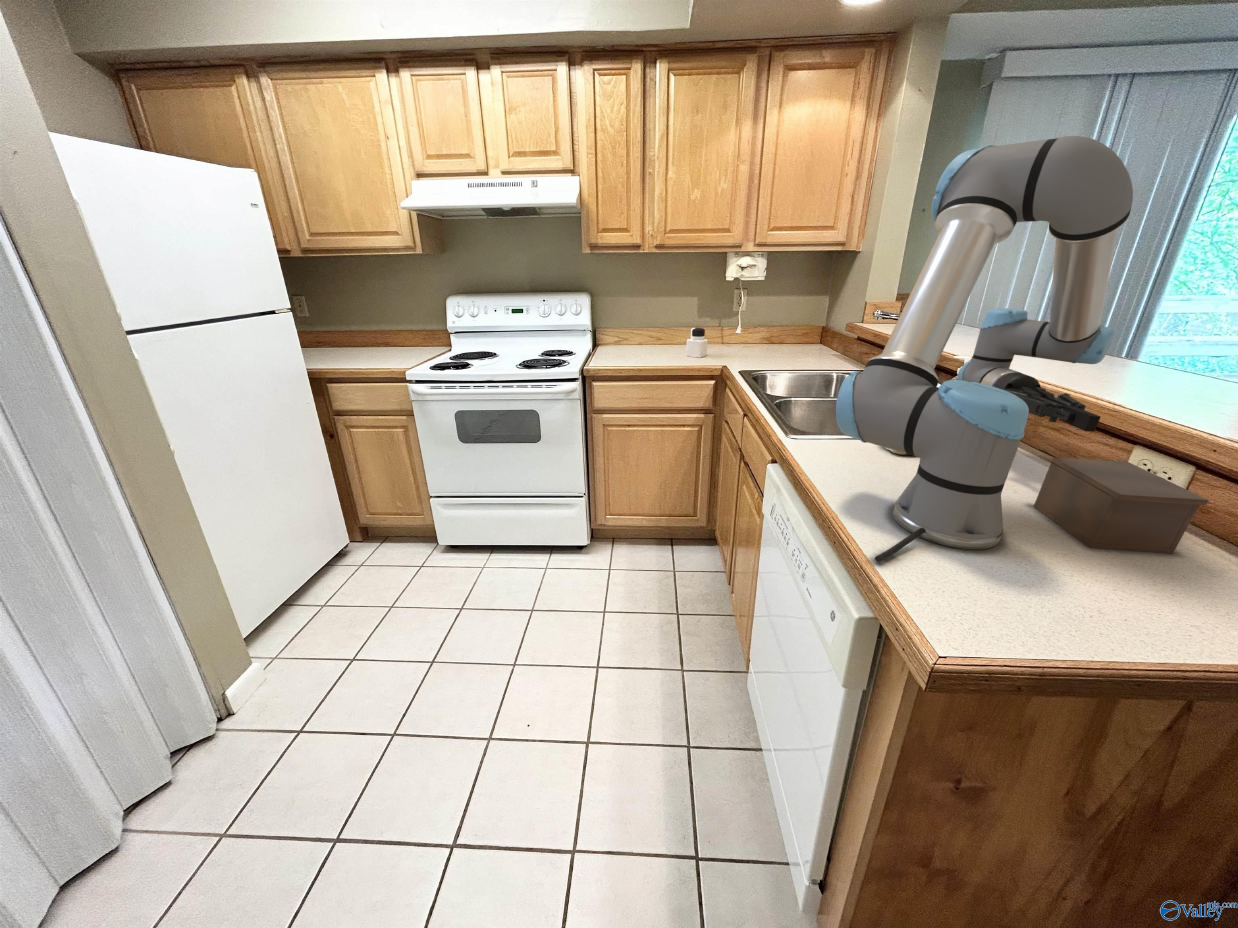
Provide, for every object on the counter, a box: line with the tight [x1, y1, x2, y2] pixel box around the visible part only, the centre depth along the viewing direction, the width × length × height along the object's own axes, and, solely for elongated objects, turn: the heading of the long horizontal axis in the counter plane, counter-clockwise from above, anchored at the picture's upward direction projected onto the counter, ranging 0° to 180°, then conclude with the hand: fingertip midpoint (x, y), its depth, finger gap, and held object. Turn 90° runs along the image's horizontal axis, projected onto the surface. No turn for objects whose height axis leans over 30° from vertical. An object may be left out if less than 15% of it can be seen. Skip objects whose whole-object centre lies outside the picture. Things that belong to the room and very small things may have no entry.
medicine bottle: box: [685, 327, 709, 359], centre depth 214 cm, size 7×7×12 cm
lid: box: [1051, 456, 1209, 506], centre depth 77 cm, size 14×12×1 cm
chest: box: [1033, 461, 1200, 554], centre depth 80 cm, size 14×12×9 cm
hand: (1092, 423), depth 83 cm, fingers closed
